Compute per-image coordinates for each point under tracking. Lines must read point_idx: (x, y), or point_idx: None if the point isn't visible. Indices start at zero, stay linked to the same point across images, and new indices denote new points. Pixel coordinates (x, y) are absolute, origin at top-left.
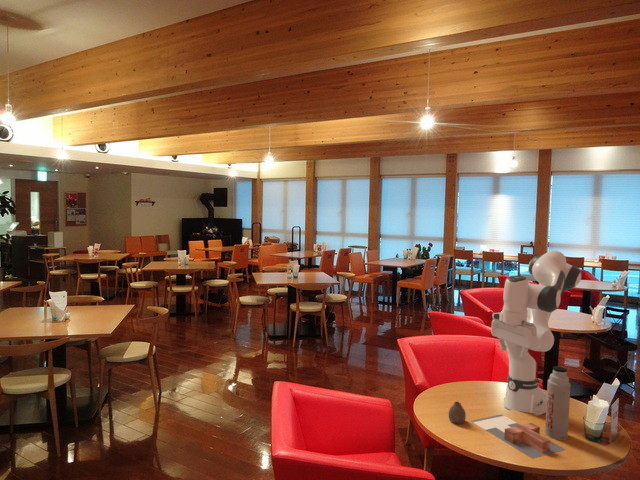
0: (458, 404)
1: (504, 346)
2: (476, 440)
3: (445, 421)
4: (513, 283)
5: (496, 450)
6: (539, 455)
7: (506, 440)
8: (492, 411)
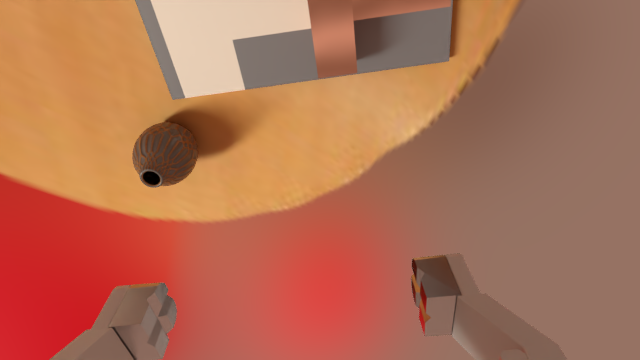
0: (164, 180)
1: (155, 343)
2: (292, 142)
3: None
4: None
5: (358, 121)
6: (446, 22)
7: None
8: None
